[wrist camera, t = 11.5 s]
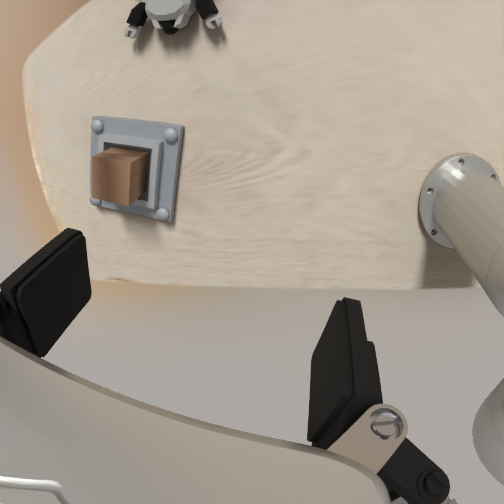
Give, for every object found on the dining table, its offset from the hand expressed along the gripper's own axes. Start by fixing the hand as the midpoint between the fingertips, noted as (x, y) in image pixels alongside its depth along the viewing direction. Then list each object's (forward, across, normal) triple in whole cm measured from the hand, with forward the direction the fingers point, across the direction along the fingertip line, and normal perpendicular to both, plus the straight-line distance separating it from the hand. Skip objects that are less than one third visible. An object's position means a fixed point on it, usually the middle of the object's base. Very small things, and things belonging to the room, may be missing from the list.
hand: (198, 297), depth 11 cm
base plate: (+27, +16, +6) cm, 32 cm away
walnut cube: (+26, +16, +6) cm, 31 cm away
